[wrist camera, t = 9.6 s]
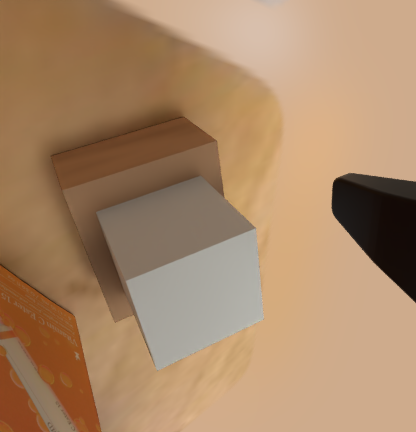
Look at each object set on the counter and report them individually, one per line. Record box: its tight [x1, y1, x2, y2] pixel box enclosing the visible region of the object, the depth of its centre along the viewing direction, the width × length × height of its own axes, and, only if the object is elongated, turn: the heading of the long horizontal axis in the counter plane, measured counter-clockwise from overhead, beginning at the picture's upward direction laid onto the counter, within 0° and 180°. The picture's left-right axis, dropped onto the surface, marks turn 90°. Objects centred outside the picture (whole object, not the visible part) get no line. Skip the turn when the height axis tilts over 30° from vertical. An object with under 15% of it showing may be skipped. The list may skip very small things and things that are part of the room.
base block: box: [51, 117, 224, 322], centre depth 21 cm, size 8×7×4 cm
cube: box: [96, 176, 264, 371], centre depth 17 cm, size 5×5×5 cm
